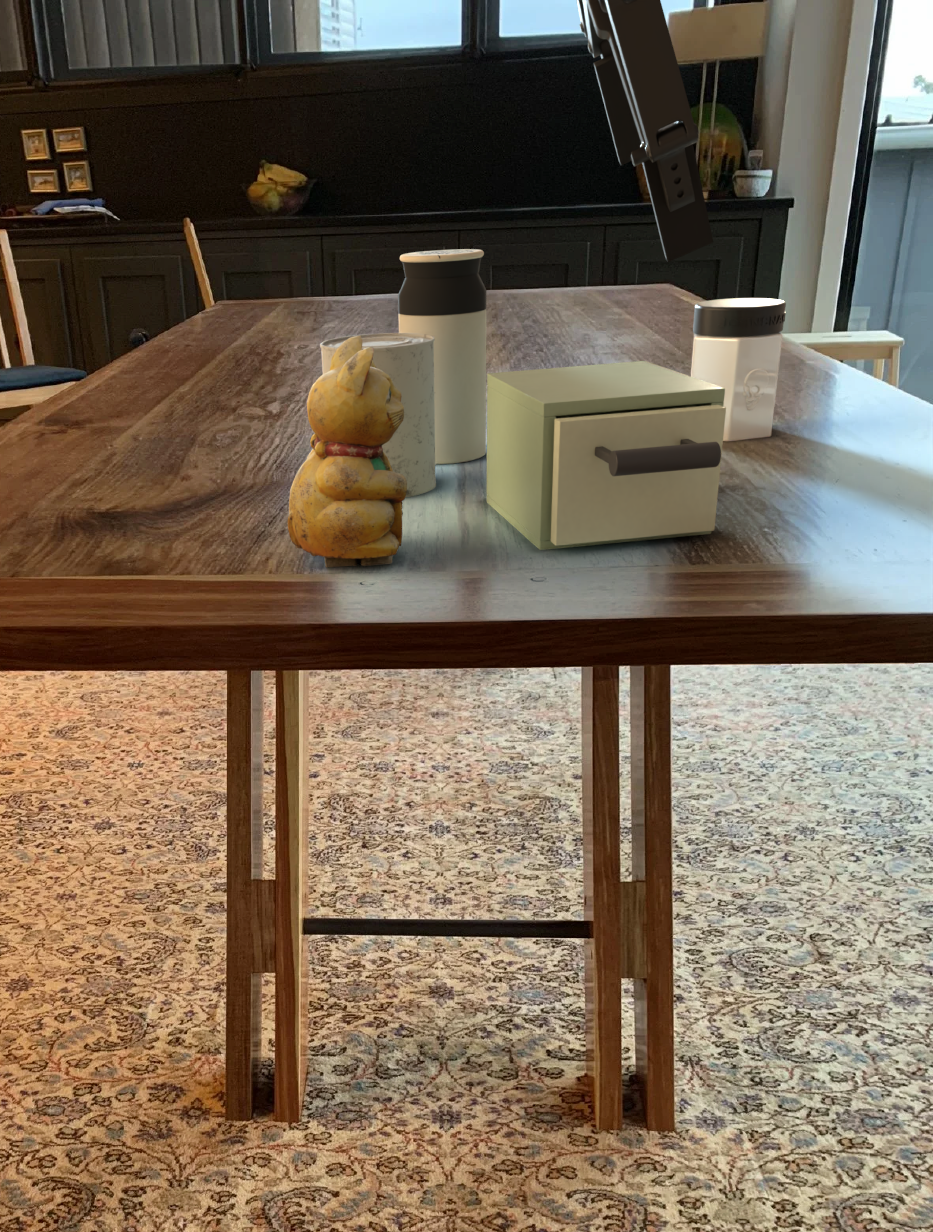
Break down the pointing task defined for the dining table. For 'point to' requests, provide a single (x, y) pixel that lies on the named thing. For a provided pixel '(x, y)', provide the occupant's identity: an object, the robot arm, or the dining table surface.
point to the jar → (740, 359)
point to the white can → (405, 401)
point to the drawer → (636, 473)
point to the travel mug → (451, 344)
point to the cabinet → (527, 429)
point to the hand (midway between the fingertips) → (663, 199)
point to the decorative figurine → (350, 465)
